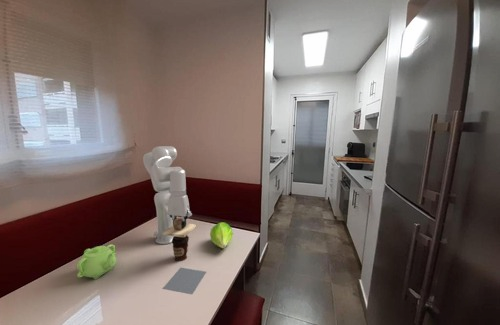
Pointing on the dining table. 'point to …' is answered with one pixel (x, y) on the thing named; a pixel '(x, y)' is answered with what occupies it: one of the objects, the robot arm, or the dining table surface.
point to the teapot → (97, 261)
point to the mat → (185, 280)
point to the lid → (179, 229)
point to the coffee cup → (180, 247)
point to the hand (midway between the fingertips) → (179, 226)
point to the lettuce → (221, 234)
